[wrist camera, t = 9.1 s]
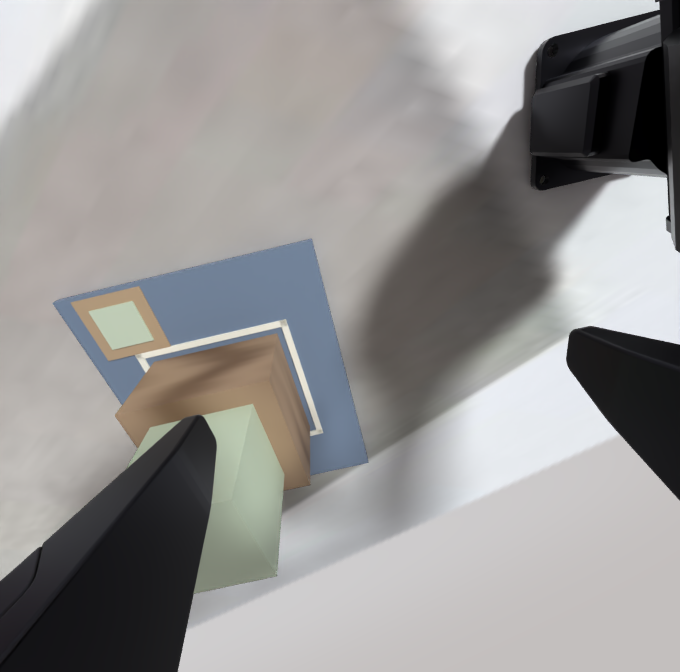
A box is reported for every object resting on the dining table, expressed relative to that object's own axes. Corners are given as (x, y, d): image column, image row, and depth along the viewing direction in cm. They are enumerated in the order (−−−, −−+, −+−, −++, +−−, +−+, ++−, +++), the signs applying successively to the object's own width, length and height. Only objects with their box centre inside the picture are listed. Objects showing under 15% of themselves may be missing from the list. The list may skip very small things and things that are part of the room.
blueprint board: (311, 238, 19) (311, 241, 19) (367, 457, 28) (368, 464, 27) (58, 299, 20) (50, 304, 19) (190, 496, 28) (187, 504, 28)
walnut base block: (277, 333, 21) (269, 380, 17) (309, 426, 25) (310, 485, 21) (154, 361, 22) (114, 415, 17) (204, 450, 25) (183, 512, 21)
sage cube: (252, 403, 18) (231, 499, 13) (284, 474, 20) (276, 576, 15) (150, 427, 18) (90, 530, 13) (194, 494, 20) (159, 600, 16)
